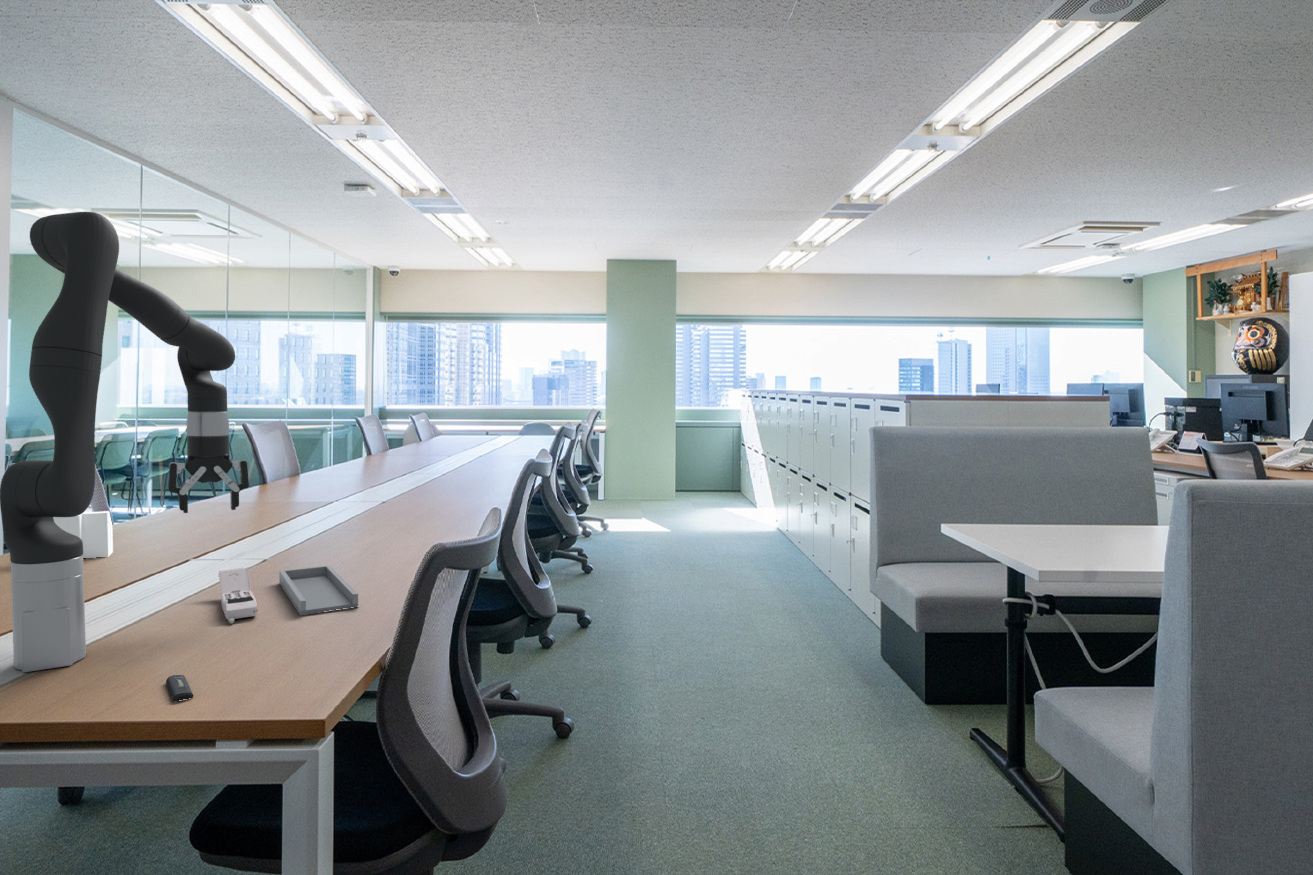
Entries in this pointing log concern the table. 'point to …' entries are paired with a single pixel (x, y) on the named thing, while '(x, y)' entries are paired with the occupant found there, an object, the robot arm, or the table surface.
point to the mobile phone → (237, 594)
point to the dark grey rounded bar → (178, 687)
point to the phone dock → (317, 589)
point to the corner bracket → (90, 532)
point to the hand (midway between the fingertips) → (209, 510)
